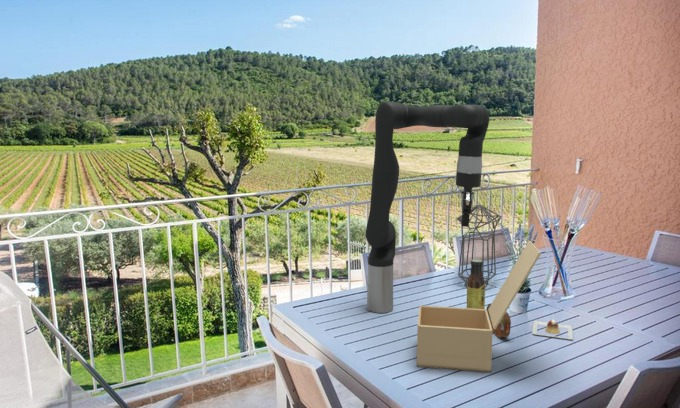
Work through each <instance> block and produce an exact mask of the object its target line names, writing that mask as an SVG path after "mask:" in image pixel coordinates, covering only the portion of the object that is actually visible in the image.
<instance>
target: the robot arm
mask: <svg viewBox="0 0 680 408" xmlns="http://www.w3.org/2000/svg"><path fill="white" fill-rule="evenodd" d="M375 111H376V113H375V119H374V120H375V121H374V122H375V128H374V129H375V130H374V132H375V134H374V137H375V142H374V143H375V144H374V158H373V159H374V160H373V166H372V167H373V168H372V176H371V177H372V178H371V190H370V206H369V212H368V219H367V223H366V229H365V240H366V241H367V243H368V245H369V246H371V247H370V252H369V254H368V256H367V257H368V258H367V286H366V294H367V295H366V296H367V297H366V310H367V312H371V313H377V314H378V313H379V314H386V313H390V312H392V311H393V310H394V260H395V259H394V258H395V256H396V245H397V244H396V242H397V239H396V238H397V235H396V234H397V232H396V227H395V225H394V224H393V222H392V221H390V214H391V213H390V212H391V208H392V204H393V202H394V199H395V196H396V193H397V189H398V185H399V178H400V165H399V161H398V157H397V155H396V153H395V149H394V144H393V143H394V142H393V141H394V139H393V138H394V130H401V129H405V128H410V127H419V126H421V127H422V126H423V127H431V128H446V129H447V128H449V129H450V128H458V129H459V128H460V129H466V132H465V133H466V134H465V136H462V137H461V138H460V139H459V143H458V153H457V155H458V156H457V161H456V174H455V185H456V186H457V187H460V188H463V191H460V207H461V215H462V226H463V227H464V228H468V226H469V227H470V223H469V219H470V218H471V209H472V208H473V207H474V206H473V203H474V198H475V193H474V191H473V189H474V188H480V187H481V185H482V174H483V173H482V172H483V171H482V170H483V158H482V157H483V149H484V148H483V144H484V141H485V138H486V136H487V135H486V134H487V131H488V128H489V123H490V114H489V111H488V109H487V107H485V106H483V105H479V104H455V105H451V104H433V105H428V106H413V105H409V104H405V103H403V102H402V103H401V102H397V101H389V100H388V101H382V102H381V103H380V104H379V105H378V106H377V108H376V110H375Z"/></svg>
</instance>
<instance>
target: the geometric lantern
mask: <svg viewBox="0 0 680 408" xmlns="http://www.w3.org/2000/svg"><path fill="white" fill-rule="evenodd" d="M479 212H480V214H479ZM491 213H492V214H494V215H492V214H491ZM479 217H481V218H479ZM483 217H485V219H486V221H483ZM472 218H475V221H471V220H472ZM501 219H502V215H500V214H498V213H496V212H495V211H493V210H491V209H489V208H487V207H485V206H484V205H482V204H480V203H479V204H475V205H474V206H472V208H471V214H470V217H469V224H474V227H470V225H469V226H468V227H467V228H468V229H469V230H468V231H467V232H466V233H464V230H463V226H462V214H461V215H459V216H458V217H456V218H455V220H456V221H458V222H460V225H461V246H460V247H461V249H460V255H459V265H458V266H459V267H458V273H457V274H458V275H457V276H458V277H459V278H460V279H461V280H462V281H463V282H464V284H463V285H464V287H467V283H468V281H467V280H468V277H469V276H470V274H469V272H468V271H471V268H468V261H469V253H470V243H471V240H472V249H471V251H472V252H471V260H474V250H475V240H478V241H482V259H481V260H482V261H483V265H482V274H483V275H484V273H487V277H484V280H485V288H486V287H487V286H488V285H489V281H491V280H492V279H493V278H494V277H495V276H496V275H497V273H496V272H497V271H496V270H497V267H496V264H497V263H496V242H495V241H496V239H495V234H496V228H497V227H498V224H499V222H500V220H501ZM476 224H477V225H476ZM491 224H492V227H491ZM486 225H488V226H489V229H490V230H491V231H490V233H489V232H480V231H479V230H478V229H480V228H482V227H484V226H486ZM472 230H473V231H472ZM475 233H476V234H478V235H479V236H480V238H475ZM471 234H473V235H472V237H471ZM482 234H483V235H489V236H488V237H487V238H486V239H485V238H483V236H482ZM467 235H468V236H467ZM466 239H468V244H467V253H466V260H465V262H466V264H465V269H464V257H465V255H464V254H465V240H466ZM490 239H491V257H490V254H489V250H490V249H489V240H490ZM485 241H486V253H487V254H486V256H487V258H486V259H487V266H486V267H487V270H484V268H485V267H484V265H485V264H484V262H485V261H484V260H485V259H484V258H485V255H484V253H485ZM489 257H490V258H491V262H490V259H489ZM490 263H491V264H490ZM490 265H491V266H490ZM493 265H494V266H493ZM490 267H491V268H490ZM493 267H494V271H493ZM465 272H466V274H467V277H466V276H463V275H464V273H465ZM491 274H493V275H491ZM490 275H491V276H490Z"/></svg>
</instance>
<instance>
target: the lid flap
mask: <svg viewBox="0 0 680 408" xmlns="http://www.w3.org/2000/svg"><path fill="white" fill-rule="evenodd" d="M541 254H542V253H541V251H540V250H539V249H538V248H537V247H536V246H535V245H534V244H533V242H532V241H531V240H528V241H527V244H526V245H525V247H524V248H523V250H522V252H521V254H520V255H519V257H518V259H517V260H516V262H515V263H514V265H513V267H511V270H510V271H509V274H508V275H507V277H506V278H505V280H504V282H503V283H502V285H501V287H500V289H499V291H498V292H497V294H496V295H495V297H494V299H493V301H492V302H491V303H490V304H491V306H490V307H489V309H488V311H489V314H490V318H491V321H492V325H493V328H494V329H496V328H497V326H498V324H499V323H500V321H501V319H502V318H503V316H504V314H505V313H506V312H507V311H508V310H509V308H510V306H511V305H512V303H513V301H514V299H515V298H516V296H517V294H518V293H519V291H520V289H521V288H522V286H523V285H524V283H525V281H526V280H527V278H528V277H529V274H531V271H532V269H533V268H534V266H535V265H536V263H537V262H538V259H539V258H540V256H541Z"/></svg>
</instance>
